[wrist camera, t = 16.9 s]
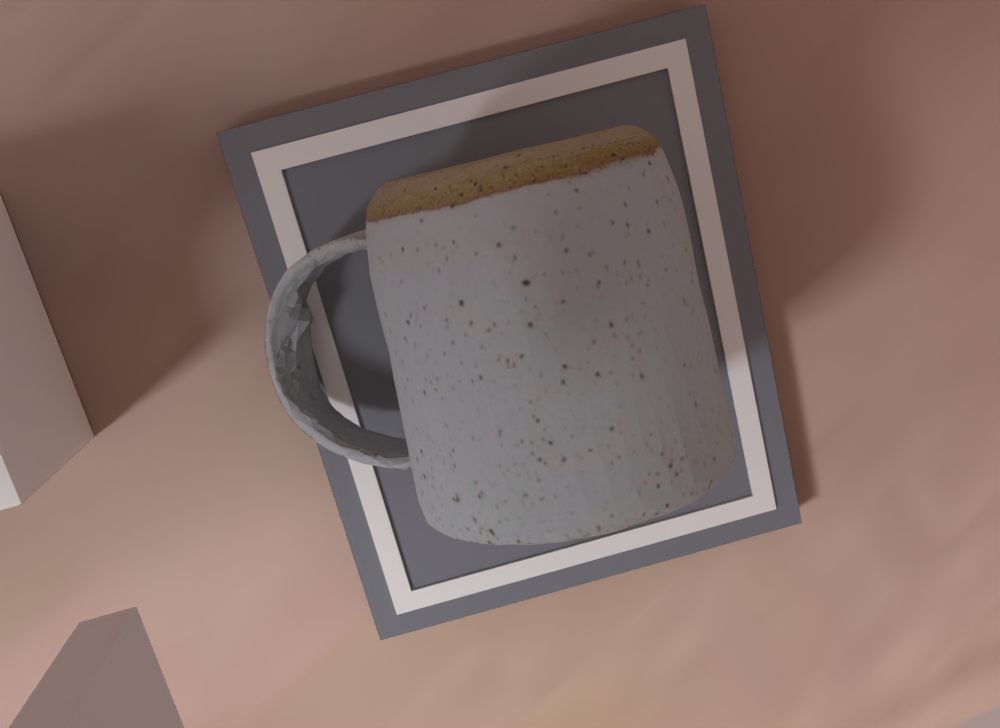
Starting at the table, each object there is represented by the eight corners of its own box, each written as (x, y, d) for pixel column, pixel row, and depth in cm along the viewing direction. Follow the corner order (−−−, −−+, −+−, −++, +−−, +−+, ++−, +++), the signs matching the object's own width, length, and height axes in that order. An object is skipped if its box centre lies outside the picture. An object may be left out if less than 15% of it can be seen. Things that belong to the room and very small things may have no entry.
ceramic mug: (624, 114, 24) (714, 101, 17) (684, 402, 26) (789, 504, 19) (232, 215, 24) (150, 247, 17) (323, 499, 26) (285, 640, 19)
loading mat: (381, 626, 28) (380, 641, 27) (222, 132, 24) (215, 132, 24) (790, 512, 29) (802, 523, 28) (695, 8, 25) (706, 3, 24)
